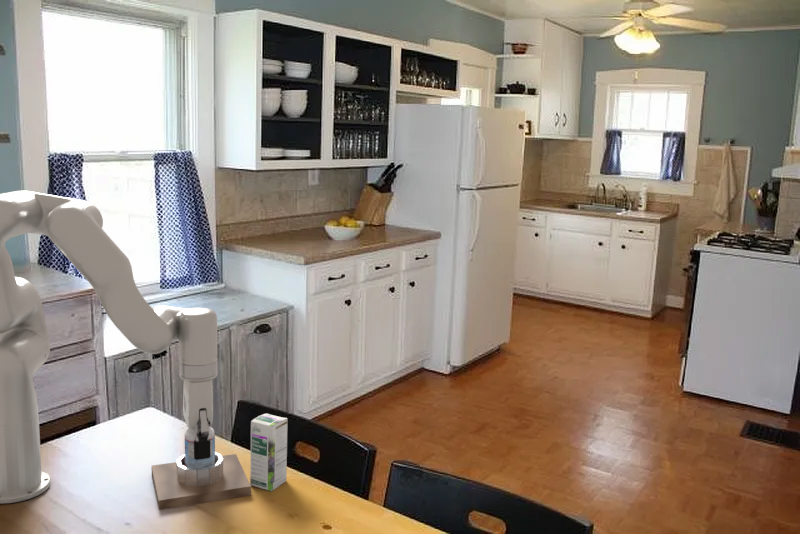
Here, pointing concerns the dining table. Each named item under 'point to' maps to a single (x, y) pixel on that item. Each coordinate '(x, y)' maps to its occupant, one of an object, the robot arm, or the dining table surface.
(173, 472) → the holder board
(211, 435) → the pill bottle
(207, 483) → the bottle ring
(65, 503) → the dining table surface
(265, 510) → the dining table surface
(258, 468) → the syrup box
